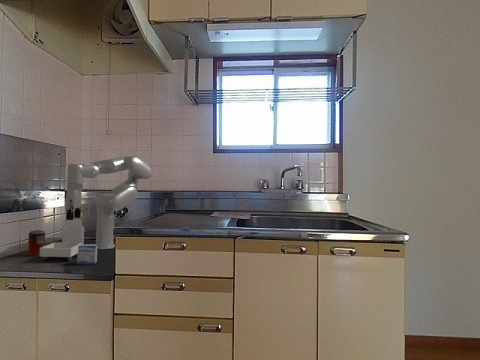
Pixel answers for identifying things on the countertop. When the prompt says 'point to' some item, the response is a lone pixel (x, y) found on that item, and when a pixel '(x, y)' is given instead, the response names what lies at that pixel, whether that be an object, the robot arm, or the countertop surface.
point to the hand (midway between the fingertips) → (73, 218)
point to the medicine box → (87, 254)
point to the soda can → (36, 242)
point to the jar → (73, 232)
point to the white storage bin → (59, 250)
